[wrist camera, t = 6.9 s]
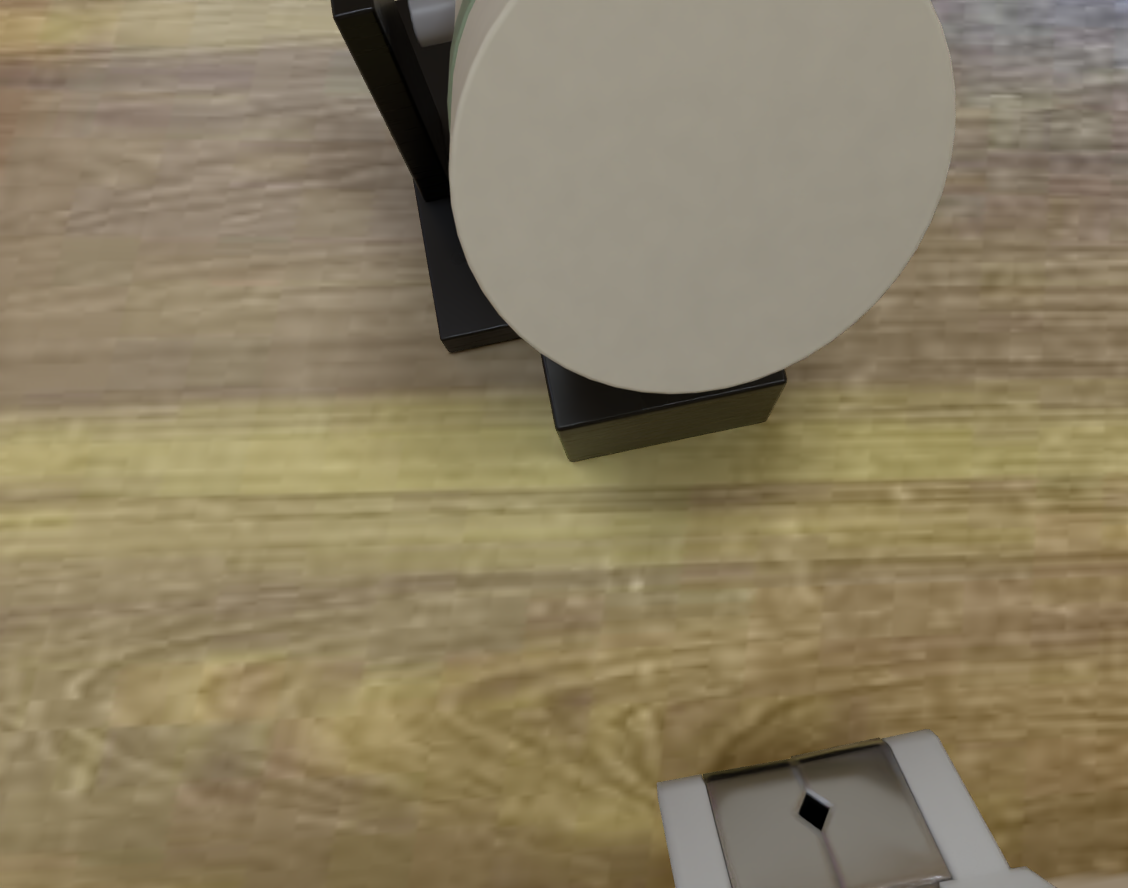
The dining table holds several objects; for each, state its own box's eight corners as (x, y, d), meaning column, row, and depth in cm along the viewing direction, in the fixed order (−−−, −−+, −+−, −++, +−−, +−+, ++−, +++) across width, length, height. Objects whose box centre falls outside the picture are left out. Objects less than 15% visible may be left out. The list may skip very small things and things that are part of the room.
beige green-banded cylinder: (1027, 331, 11) (1100, -216, 7) (434, 456, 11) (264, -18, 8) (759, 70, 20) (742, -217, 17) (447, 140, 21) (375, -129, 17)
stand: (868, 400, 22) (988, 267, 14) (471, 484, 22) (378, 398, 15) (738, -54, 25) (779, -367, 17) (392, 27, 26) (281, -243, 18)
